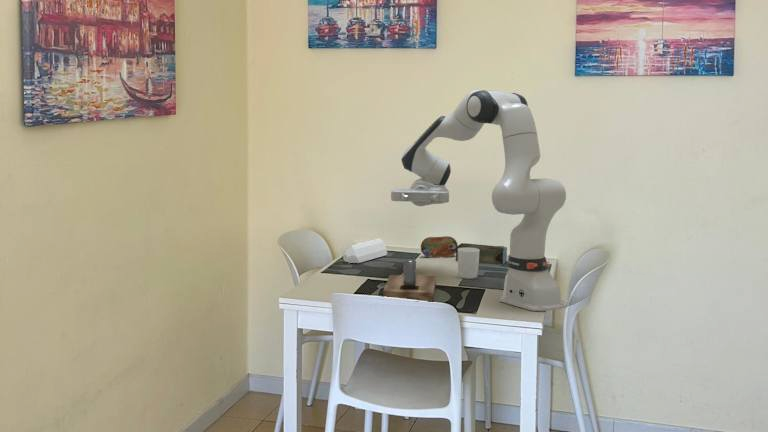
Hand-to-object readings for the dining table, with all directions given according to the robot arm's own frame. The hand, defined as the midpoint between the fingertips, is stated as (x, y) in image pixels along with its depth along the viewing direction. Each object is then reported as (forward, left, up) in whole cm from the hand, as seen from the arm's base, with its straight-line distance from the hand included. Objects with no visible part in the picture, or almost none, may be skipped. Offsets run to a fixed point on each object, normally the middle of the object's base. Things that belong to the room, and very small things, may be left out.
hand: (419, 198), depth 293 cm
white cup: (+4, -22, -30) cm, 38 cm away
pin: (-14, +11, -30) cm, 35 cm away
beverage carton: (+26, -42, -30) cm, 58 cm away
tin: (+40, -30, -30) cm, 58 cm away
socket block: (-9, +7, -30) cm, 32 cm away
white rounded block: (+47, -2, -30) cm, 56 cm away
